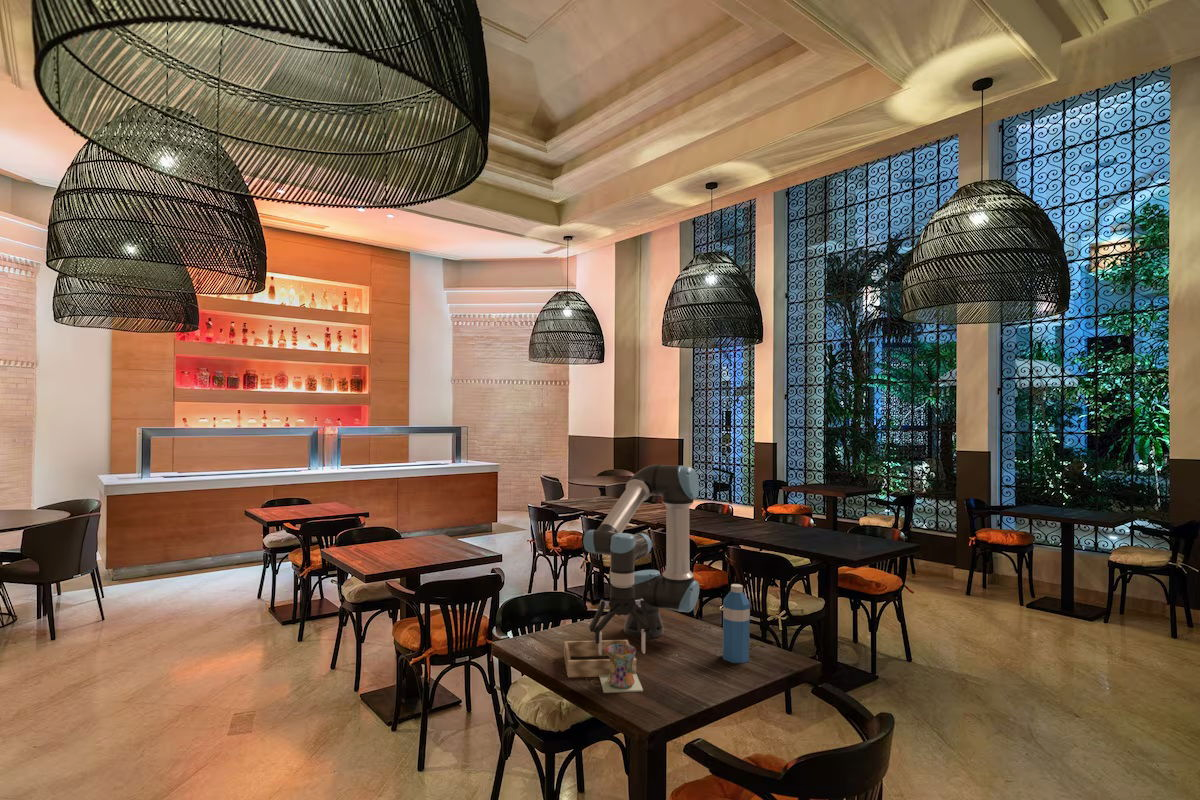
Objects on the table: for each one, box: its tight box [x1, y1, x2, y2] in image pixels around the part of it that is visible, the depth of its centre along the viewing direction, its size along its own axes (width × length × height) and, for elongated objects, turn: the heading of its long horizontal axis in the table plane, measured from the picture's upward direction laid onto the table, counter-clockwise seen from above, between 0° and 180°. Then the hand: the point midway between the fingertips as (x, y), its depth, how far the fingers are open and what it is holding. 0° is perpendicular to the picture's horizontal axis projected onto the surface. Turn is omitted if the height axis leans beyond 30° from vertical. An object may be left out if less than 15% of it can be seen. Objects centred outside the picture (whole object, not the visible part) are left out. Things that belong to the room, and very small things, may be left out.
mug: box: [606, 644, 637, 688], centre depth 200 cm, size 12×9×11 cm
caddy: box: [563, 639, 637, 678], centre depth 215 cm, size 22×18×5 cm
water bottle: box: [722, 583, 751, 664], centre depth 223 cm, size 9×9×25 cm
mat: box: [599, 673, 644, 694], centre depth 200 cm, size 12×12×1 cm
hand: (621, 652), depth 201 cm, fingers open, 13 cm apart
